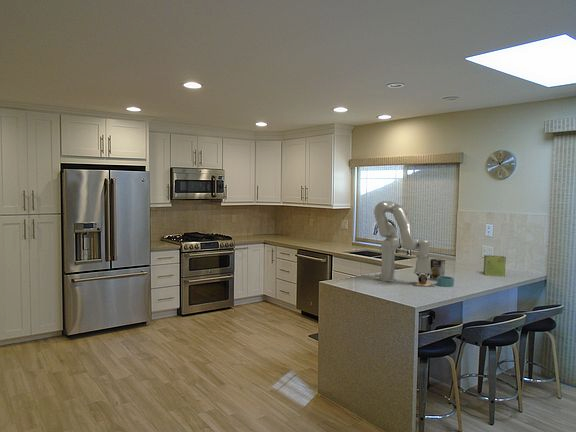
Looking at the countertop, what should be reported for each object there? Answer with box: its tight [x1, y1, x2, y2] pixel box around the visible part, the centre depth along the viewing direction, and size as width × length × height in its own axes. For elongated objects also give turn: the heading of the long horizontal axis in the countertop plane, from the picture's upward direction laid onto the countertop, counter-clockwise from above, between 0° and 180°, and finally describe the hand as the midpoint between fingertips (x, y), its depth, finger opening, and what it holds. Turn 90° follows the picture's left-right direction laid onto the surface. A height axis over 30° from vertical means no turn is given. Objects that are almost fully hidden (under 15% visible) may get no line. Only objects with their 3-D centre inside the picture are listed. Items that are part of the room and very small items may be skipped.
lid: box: [412, 273, 433, 286], centre depth 315 cm, size 13×13×7 cm
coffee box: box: [429, 258, 446, 282], centre depth 332 cm, size 9×6×16 cm
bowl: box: [436, 275, 455, 288], centre depth 314 cm, size 11×11×6 cm
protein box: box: [483, 254, 507, 277], centre depth 360 cm, size 10×15×16 cm
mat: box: [409, 281, 436, 288], centre depth 315 cm, size 15×15×1 cm
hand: (422, 282), depth 315 cm, fingers closed on lid, 3 cm apart
